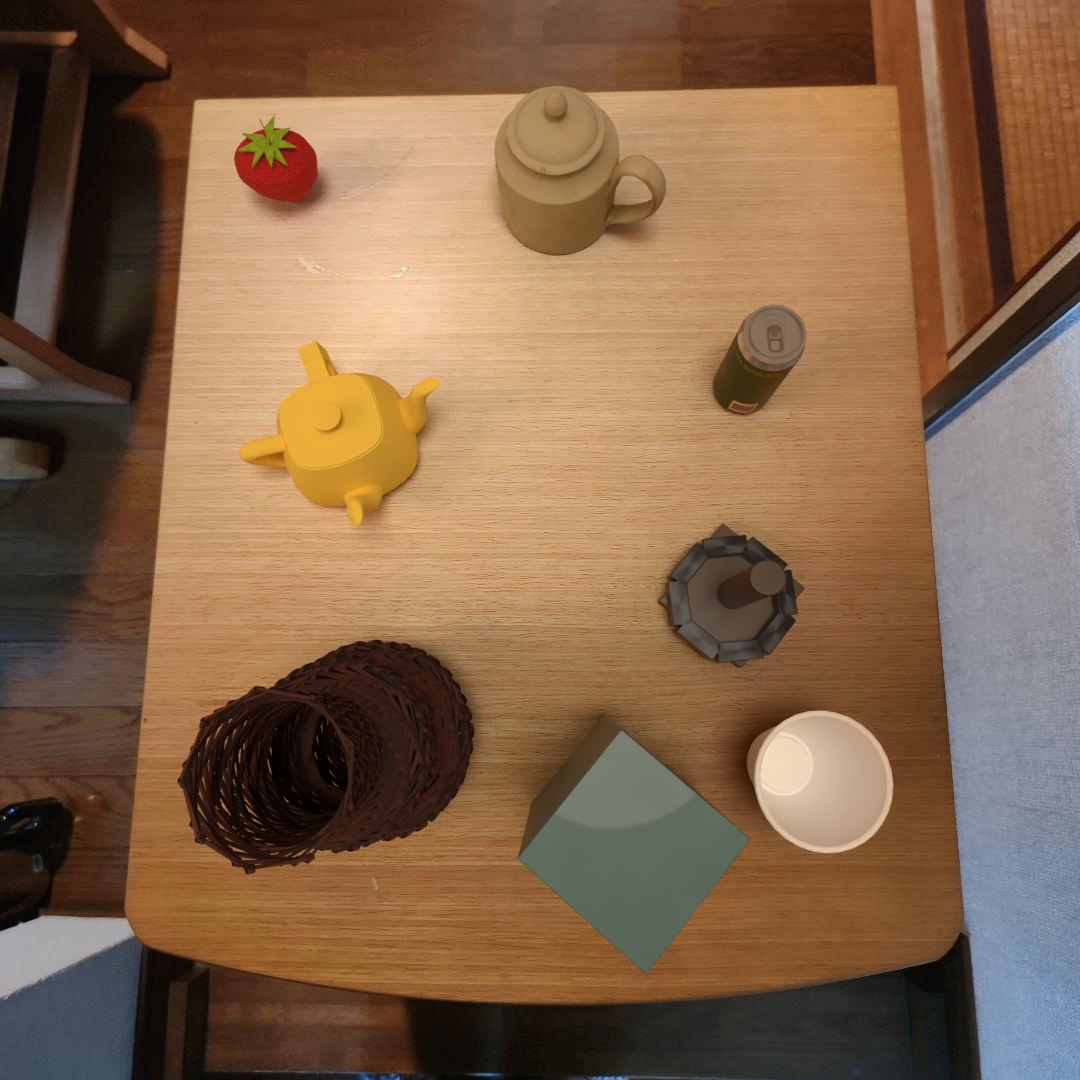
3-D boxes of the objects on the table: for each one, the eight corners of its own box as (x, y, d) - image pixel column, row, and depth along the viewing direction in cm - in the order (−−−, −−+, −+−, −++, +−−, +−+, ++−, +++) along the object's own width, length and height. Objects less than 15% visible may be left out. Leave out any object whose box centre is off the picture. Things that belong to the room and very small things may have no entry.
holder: (800, 589, 69) (856, 569, 56) (738, 668, 68) (780, 666, 55) (719, 526, 70) (756, 491, 57) (657, 602, 69) (679, 585, 56)
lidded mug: (652, 151, 77) (673, 27, 62) (655, 255, 75) (678, 152, 60) (501, 154, 77) (487, 32, 62) (501, 257, 75) (486, 156, 60)
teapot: (385, 546, 71) (356, 526, 61) (260, 480, 72) (213, 450, 62) (457, 417, 73) (441, 378, 63) (334, 355, 74) (299, 308, 64)
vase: (484, 643, 69) (426, 622, 39) (480, 824, 66) (415, 946, 37) (313, 641, 70) (129, 619, 40) (303, 821, 67) (97, 939, 37)
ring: (814, 591, 67) (820, 589, 66) (740, 686, 66) (744, 686, 65) (717, 515, 69) (721, 511, 67) (643, 607, 68) (644, 606, 66)
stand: (695, 790, 66) (750, 839, 47) (621, 884, 65) (646, 975, 46) (604, 712, 68) (621, 729, 48) (530, 804, 67) (517, 858, 47)
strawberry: (258, 174, 78) (213, 101, 68) (333, 167, 78) (299, 94, 68) (258, 228, 77) (213, 162, 67) (334, 221, 76) (300, 154, 67)
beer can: (771, 415, 72) (812, 365, 60) (713, 417, 72) (742, 367, 60) (767, 360, 73) (806, 300, 61) (709, 362, 73) (738, 302, 61)
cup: (857, 734, 67) (914, 746, 56) (814, 844, 65) (864, 878, 55) (749, 685, 68) (785, 687, 57) (705, 792, 66) (733, 815, 56)
